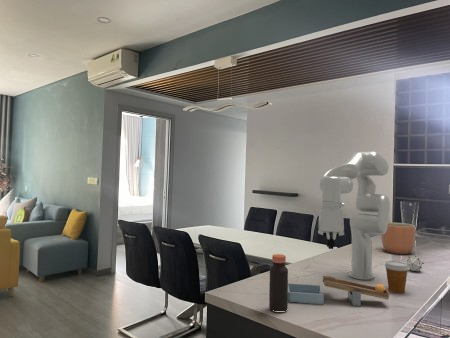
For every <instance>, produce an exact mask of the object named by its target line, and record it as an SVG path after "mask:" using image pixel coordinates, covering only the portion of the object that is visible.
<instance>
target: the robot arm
mask: <svg viewBox="0 0 450 338" xmlns="http://www.w3.org/2000/svg"><path fill="white" fill-rule="evenodd" d="M389 166H390V165H389V162H388V161H387V159H386V158H385V157H384V156H383V155H381V154H380V153H379V152H377V151H355V152H353V153H352V154H351V155H350V156H349V157H348V159H347V160H346V161H345V162H344V163H343V164H341V165H338V166H336V167H333V168H331V169H329V170H327V171H326V172H325V173H324V174H323V175H322V177H321V179H320V181H319V189H320V190H321V192H322V193H321V194H322V196H321V198H322V199H321V200H322V202H321V207H320V209H319V213H318V224H317V226H318V227H317V228H318V231H317V233H318V235H321V236H324V237H325V238H326V247H328V249H329V250H334V248H335V246H336V242H335V241H336V239H337V238H338V237H340V236H344V235H345V231H344V230H345V224H344V213H343V208H342V207H344V206H345V203H344V202H342V201H341V199H342V197H341V196H342V195H341V194H345V195H346V194H349V193H351V192H352V191H353V189H354V182H353V180H355V179H356V180H357V185H358V186H357V193H356V201H355V207H356V210H358V211H359V212H360V213H359V212H358V213H354V214H352V215H351V216H350V219H349V226H350V231H351V232H350V233H351V271H349V272H348V274H347V275H348V277H350V278H352V279H357V280H363V281H365V280H366V281H369V280H370V281H373V280H375V279H376V275H375V274H374V273H373V269H372V268H373V242H372V239H371V238H370V236H369V235H379V236H380V235H383V234H385V233H386V231H387V227H388V222H389V217H390V208H391V207H390V205H391V203H390V202H391V201H390V199H389V197H388V196H387V194H382V193H376V188H377V185H376V183H375V181H374V180H373V179H372V178H371V177H370V176H372V177H374V176H377V177H378V176H380V177H381V176H385V175H387V174H388V172H389ZM361 212H363V213H361ZM370 213H371V214H370ZM330 233H332V234H331V236H330Z"/></svg>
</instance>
